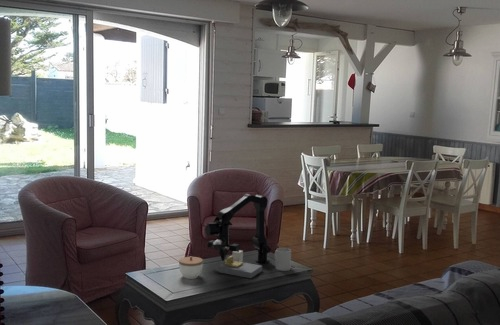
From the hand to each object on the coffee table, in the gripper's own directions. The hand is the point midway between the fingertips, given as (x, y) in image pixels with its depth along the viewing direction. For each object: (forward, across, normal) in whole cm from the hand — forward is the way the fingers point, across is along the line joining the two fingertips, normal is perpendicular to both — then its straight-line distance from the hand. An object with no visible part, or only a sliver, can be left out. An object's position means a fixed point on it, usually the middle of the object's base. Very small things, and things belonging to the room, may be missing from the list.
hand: (223, 260), depth 291 cm
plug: (+4, +4, +10) cm, 12 cm away
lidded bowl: (+5, -8, -21) cm, 23 cm away
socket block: (+4, +11, 0) cm, 12 cm away
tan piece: (+1, +7, 0) cm, 7 cm away
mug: (+5, +28, +18) cm, 34 cm away
